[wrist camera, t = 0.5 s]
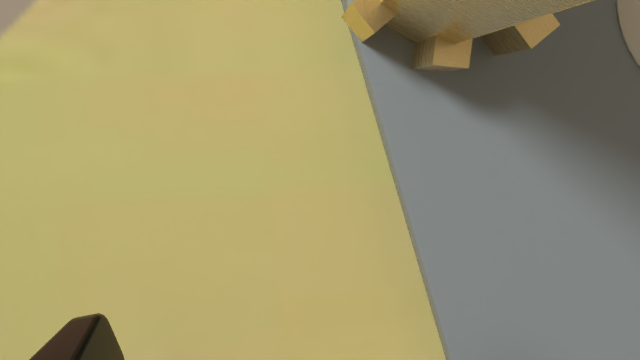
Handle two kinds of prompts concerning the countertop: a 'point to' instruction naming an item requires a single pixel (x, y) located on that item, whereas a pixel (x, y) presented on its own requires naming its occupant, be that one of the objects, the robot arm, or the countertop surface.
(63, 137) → the countertop surface
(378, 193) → the countertop surface
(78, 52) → the countertop surface
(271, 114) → the countertop surface
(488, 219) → the gear board
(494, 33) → the gear
